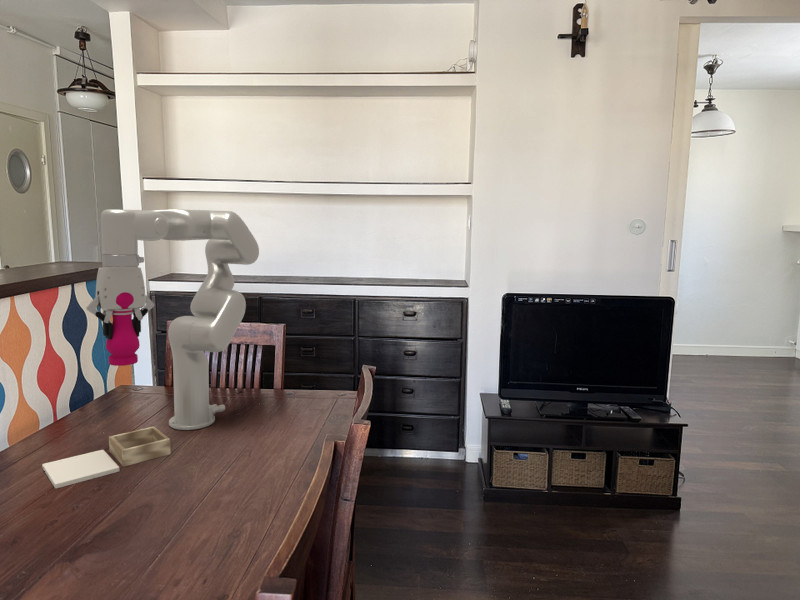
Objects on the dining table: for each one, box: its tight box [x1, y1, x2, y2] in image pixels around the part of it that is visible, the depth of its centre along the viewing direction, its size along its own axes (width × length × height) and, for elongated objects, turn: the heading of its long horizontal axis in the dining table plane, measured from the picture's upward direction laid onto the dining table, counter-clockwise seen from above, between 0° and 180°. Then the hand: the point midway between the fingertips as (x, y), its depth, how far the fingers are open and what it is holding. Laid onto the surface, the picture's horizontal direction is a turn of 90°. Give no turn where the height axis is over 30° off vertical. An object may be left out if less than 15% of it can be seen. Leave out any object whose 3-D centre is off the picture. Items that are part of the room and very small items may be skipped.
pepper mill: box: [105, 292, 140, 367], centre depth 129 cm, size 7×7×20 cm
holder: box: [108, 426, 171, 467], centre depth 136 cm, size 11×11×4 cm
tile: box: [41, 449, 120, 490], centre depth 126 cm, size 13×13×1 cm
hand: (122, 336), depth 130 cm, fingers closed on pepper mill, 5 cm apart
